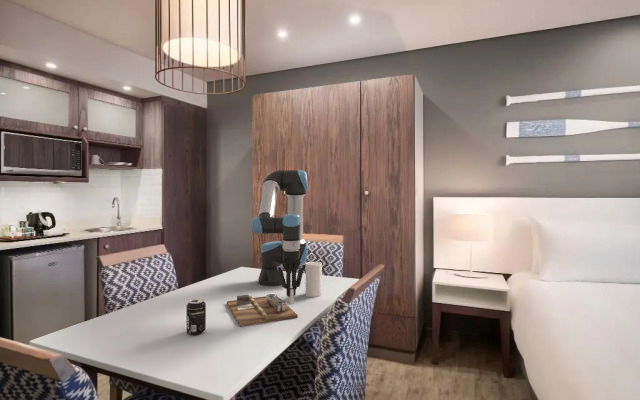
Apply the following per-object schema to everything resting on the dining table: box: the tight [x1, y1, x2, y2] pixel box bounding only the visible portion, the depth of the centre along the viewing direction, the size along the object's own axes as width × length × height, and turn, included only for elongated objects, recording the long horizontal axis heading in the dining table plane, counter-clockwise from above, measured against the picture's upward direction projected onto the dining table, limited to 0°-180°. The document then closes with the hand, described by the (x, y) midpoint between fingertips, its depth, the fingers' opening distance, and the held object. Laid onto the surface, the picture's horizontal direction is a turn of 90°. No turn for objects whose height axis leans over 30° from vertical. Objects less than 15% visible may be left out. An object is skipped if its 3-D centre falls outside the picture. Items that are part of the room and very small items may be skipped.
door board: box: [226, 294, 299, 328], centre depth 154 cm, size 30×24×5 cm
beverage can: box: [185, 297, 207, 336], centre depth 130 cm, size 7×7×12 cm
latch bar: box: [265, 293, 285, 311], centre depth 154 cm, size 17×4×3 cm, turn 25°
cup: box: [305, 261, 323, 298], centre depth 178 cm, size 8×8×16 cm
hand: (291, 303), depth 153 cm, fingers closed
